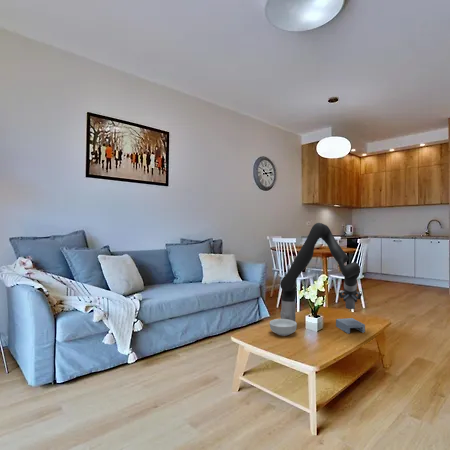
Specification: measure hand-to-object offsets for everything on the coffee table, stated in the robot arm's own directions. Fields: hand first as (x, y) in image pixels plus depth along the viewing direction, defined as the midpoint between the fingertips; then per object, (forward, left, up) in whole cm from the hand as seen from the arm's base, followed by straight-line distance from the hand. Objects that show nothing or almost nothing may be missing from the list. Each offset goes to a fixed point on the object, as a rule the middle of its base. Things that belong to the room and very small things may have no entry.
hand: (350, 300), depth 202 cm
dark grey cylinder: (-1, -2, -4) cm, 5 cm away
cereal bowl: (-47, -1, -19) cm, 50 cm away
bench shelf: (-1, -1, -18) cm, 18 cm away
